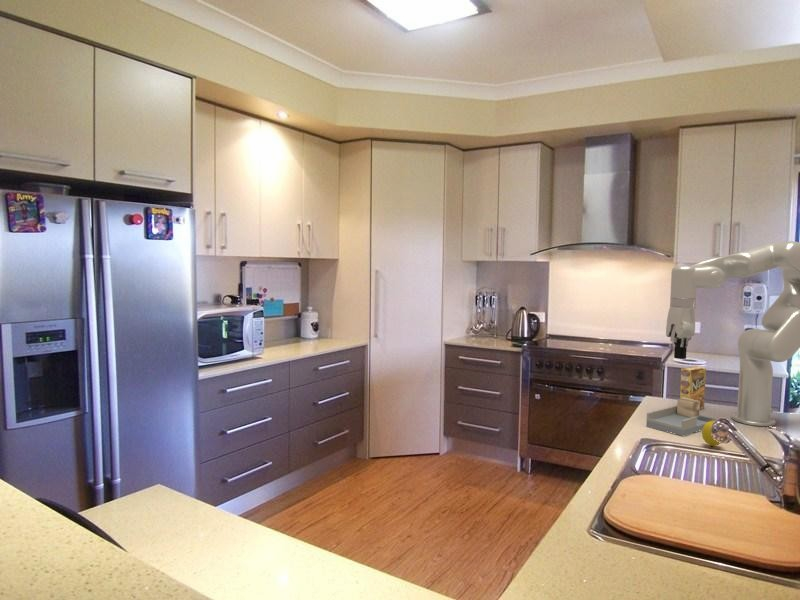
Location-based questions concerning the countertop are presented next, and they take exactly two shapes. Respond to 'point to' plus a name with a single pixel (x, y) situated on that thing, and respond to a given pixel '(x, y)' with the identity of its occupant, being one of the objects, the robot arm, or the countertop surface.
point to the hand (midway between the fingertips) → (680, 358)
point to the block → (688, 407)
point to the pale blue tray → (676, 421)
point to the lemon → (708, 434)
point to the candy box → (693, 384)
